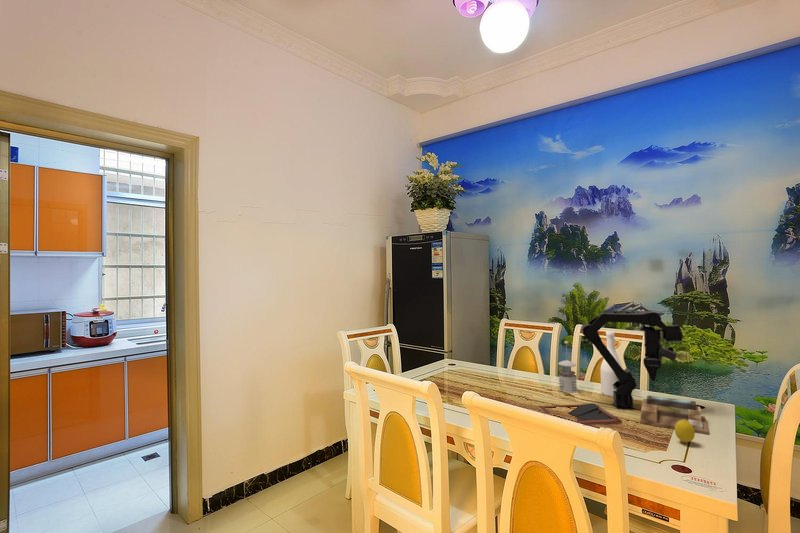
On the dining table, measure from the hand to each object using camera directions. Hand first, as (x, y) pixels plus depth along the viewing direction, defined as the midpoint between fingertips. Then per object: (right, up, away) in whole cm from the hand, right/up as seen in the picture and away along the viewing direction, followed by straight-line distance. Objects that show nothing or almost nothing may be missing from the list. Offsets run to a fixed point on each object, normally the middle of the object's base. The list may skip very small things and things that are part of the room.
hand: (653, 378), depth 169 cm
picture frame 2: (0, -8, -10) cm, 13 cm away
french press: (-25, -14, +27) cm, 39 cm away
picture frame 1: (-35, -15, -5) cm, 38 cm away
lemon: (-10, -13, -33) cm, 37 cm away
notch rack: (-2, -13, -14) cm, 19 cm away
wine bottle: (-7, -14, +20) cm, 25 cm away
